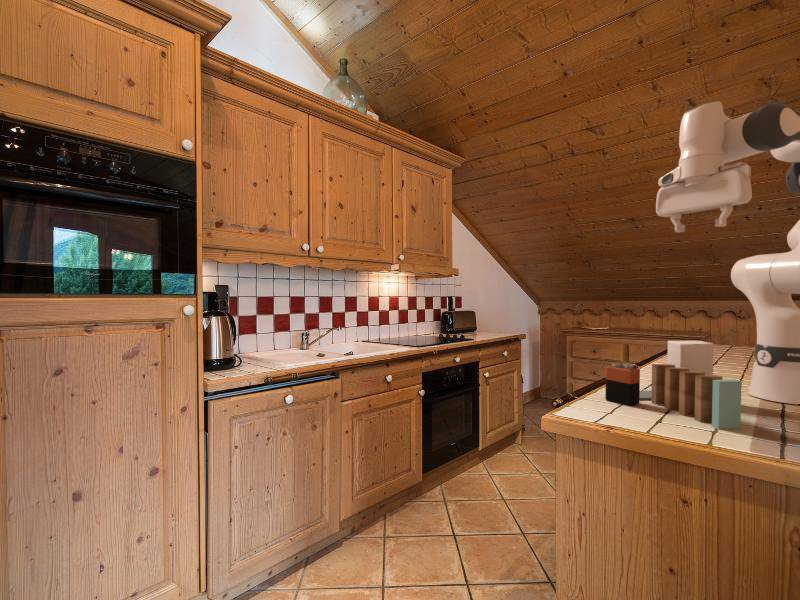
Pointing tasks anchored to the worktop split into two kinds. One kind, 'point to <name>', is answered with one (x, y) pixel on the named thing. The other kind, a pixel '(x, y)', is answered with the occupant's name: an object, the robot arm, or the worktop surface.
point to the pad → (645, 395)
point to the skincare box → (691, 355)
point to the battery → (622, 384)
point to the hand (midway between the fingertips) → (699, 229)
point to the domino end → (726, 404)
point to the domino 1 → (659, 382)
